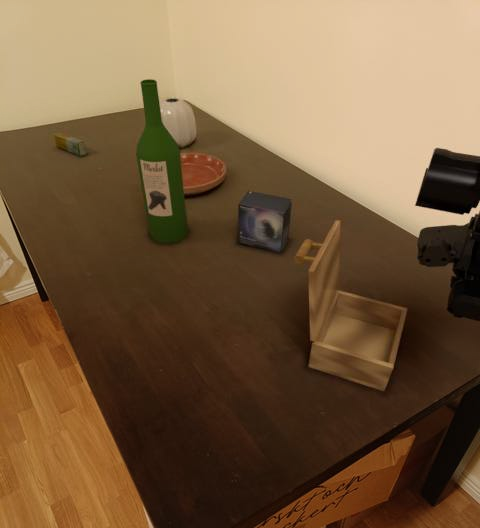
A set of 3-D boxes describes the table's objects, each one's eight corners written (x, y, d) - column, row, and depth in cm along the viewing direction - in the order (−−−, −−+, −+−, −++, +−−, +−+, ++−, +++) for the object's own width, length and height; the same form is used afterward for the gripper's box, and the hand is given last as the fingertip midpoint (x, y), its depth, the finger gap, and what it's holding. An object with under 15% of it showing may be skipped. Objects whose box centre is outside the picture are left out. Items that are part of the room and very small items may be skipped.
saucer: (139, 169, 126) (137, 157, 124) (214, 159, 131) (213, 147, 129) (152, 206, 111) (150, 193, 108) (236, 193, 116) (236, 180, 113)
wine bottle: (146, 243, 98) (118, 88, 76) (153, 222, 105) (130, 74, 82) (185, 244, 98) (168, 89, 75) (190, 223, 104) (176, 74, 82)
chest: (399, 331, 78) (407, 308, 74) (384, 391, 68) (393, 368, 64) (331, 312, 81) (335, 289, 77) (308, 367, 72) (312, 343, 68)
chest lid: (340, 220, 68) (312, 218, 70) (313, 271, 59) (282, 267, 60) (338, 287, 77) (313, 284, 79) (315, 341, 67) (287, 336, 69)
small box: (236, 244, 98) (236, 202, 91) (247, 230, 102) (247, 189, 95) (280, 254, 95) (284, 212, 88) (289, 239, 99) (293, 198, 92)
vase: (162, 155, 134) (156, 109, 124) (151, 139, 143) (144, 95, 134) (203, 148, 138) (201, 103, 128) (190, 133, 147) (186, 90, 138)
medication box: (87, 154, 134) (85, 141, 132) (80, 156, 133) (78, 143, 130) (62, 144, 139) (60, 131, 137) (55, 146, 137) (53, 133, 135)
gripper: (440, 176, 59) (409, 266, 70) (423, 245, 47) (389, 342, 58) (529, 191, 56) (482, 284, 67) (536, 270, 44) (477, 368, 55)
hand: (457, 315), depth 62 cm, fingers closed
